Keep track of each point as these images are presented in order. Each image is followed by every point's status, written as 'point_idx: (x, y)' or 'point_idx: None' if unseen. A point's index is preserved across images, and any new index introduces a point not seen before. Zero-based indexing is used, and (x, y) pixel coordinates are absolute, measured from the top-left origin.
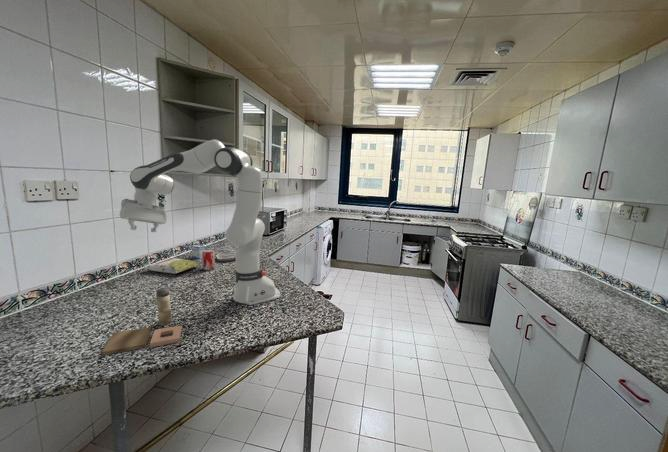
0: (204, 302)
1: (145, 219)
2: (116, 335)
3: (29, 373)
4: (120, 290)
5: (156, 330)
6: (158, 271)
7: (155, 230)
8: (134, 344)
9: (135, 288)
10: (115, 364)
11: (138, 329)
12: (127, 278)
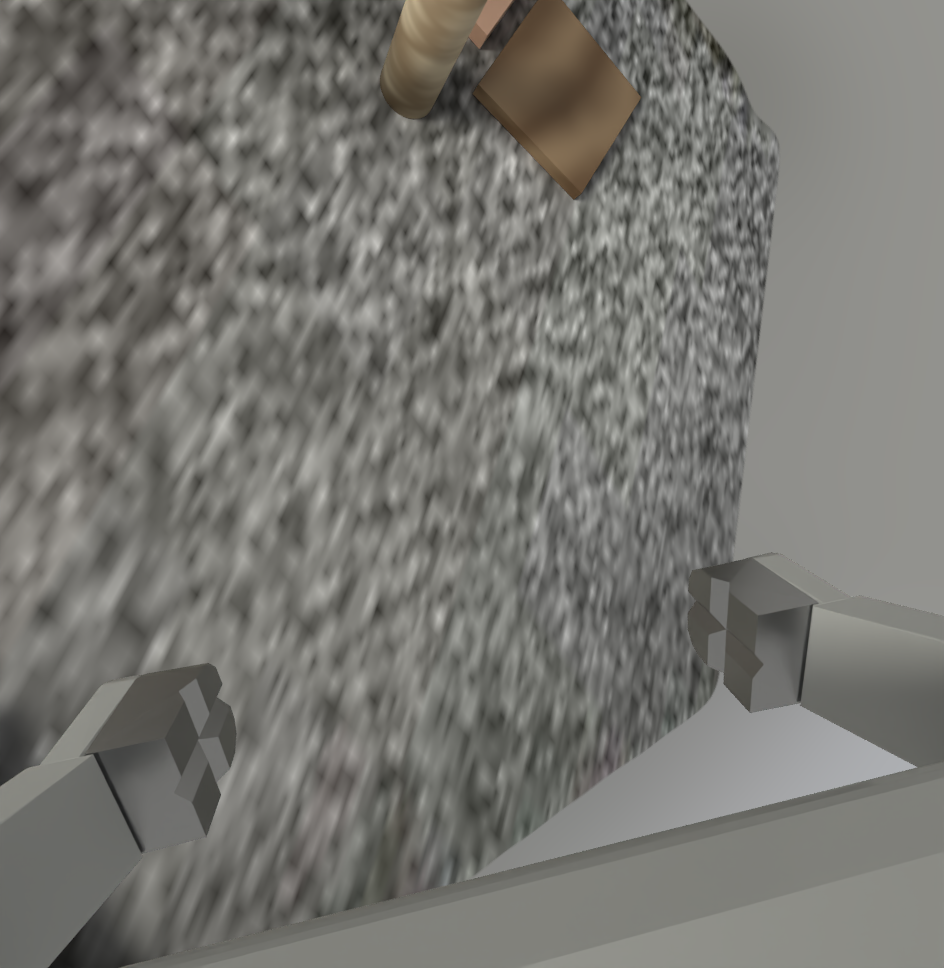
0: (112, 66)
1: (658, 882)
2: (582, 160)
3: (743, 211)
4: (383, 708)
5: (485, 21)
6: None
7: (122, 696)
8: (570, 25)
9: (312, 683)
10: (627, 10)
11: (519, 119)
12: None
